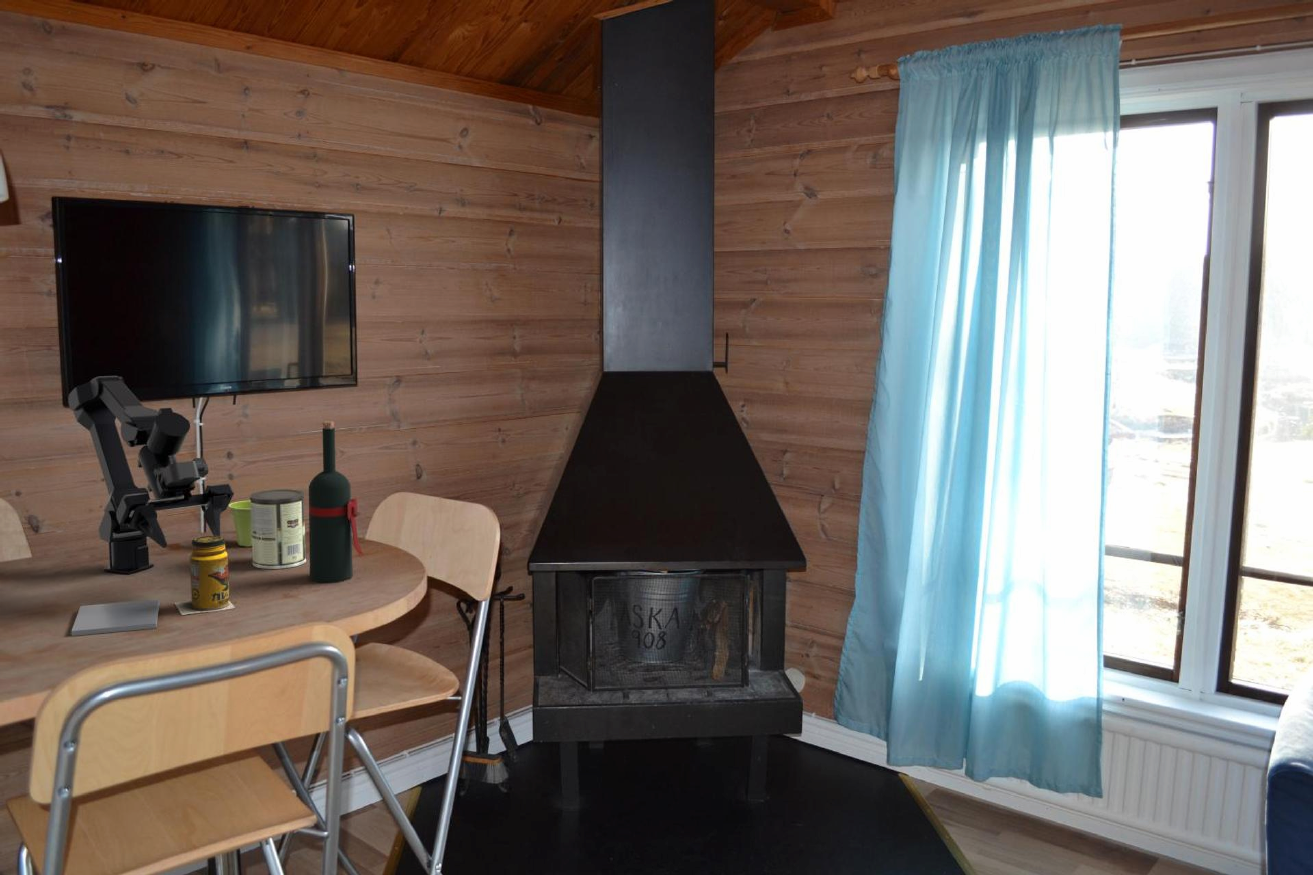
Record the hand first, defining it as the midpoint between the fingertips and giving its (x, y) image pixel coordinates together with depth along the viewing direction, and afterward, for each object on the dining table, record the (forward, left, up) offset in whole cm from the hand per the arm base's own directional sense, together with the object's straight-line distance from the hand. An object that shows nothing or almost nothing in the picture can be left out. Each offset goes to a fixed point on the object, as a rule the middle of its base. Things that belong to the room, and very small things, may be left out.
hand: (192, 542), depth 183 cm
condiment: (+4, -2, -11) cm, 12 cm away
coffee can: (-3, +27, -11) cm, 30 cm away
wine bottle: (+14, +22, -11) cm, 28 cm away
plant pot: (-18, +38, -11) cm, 44 cm away
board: (-4, -13, -11) cm, 17 cm away
